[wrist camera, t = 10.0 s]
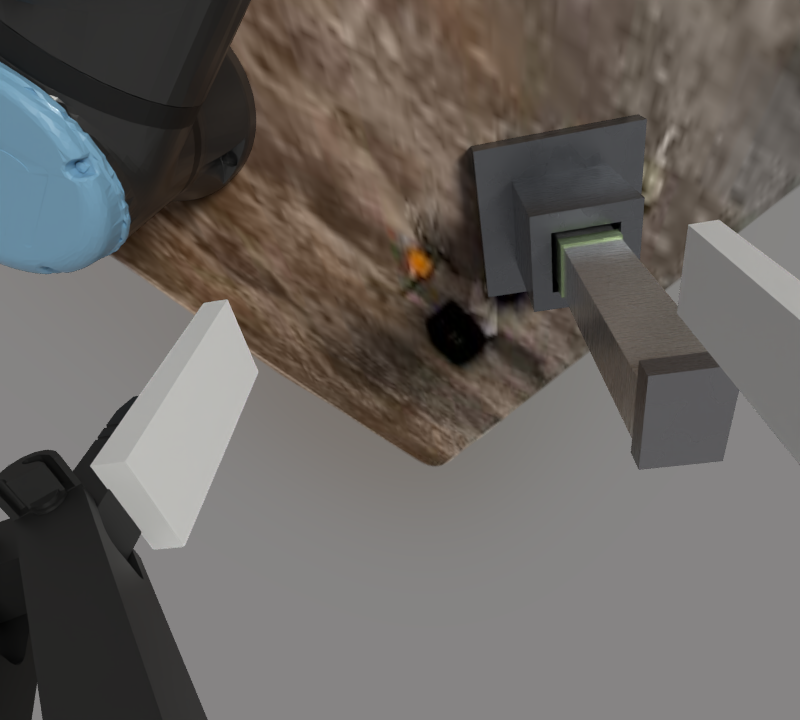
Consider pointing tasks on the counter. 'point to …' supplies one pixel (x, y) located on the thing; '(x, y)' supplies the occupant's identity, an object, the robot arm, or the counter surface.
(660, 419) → the grey rectangular bar
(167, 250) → the counter surface
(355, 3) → the counter surface
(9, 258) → the robot arm
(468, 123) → the counter surface
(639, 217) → the stand base
